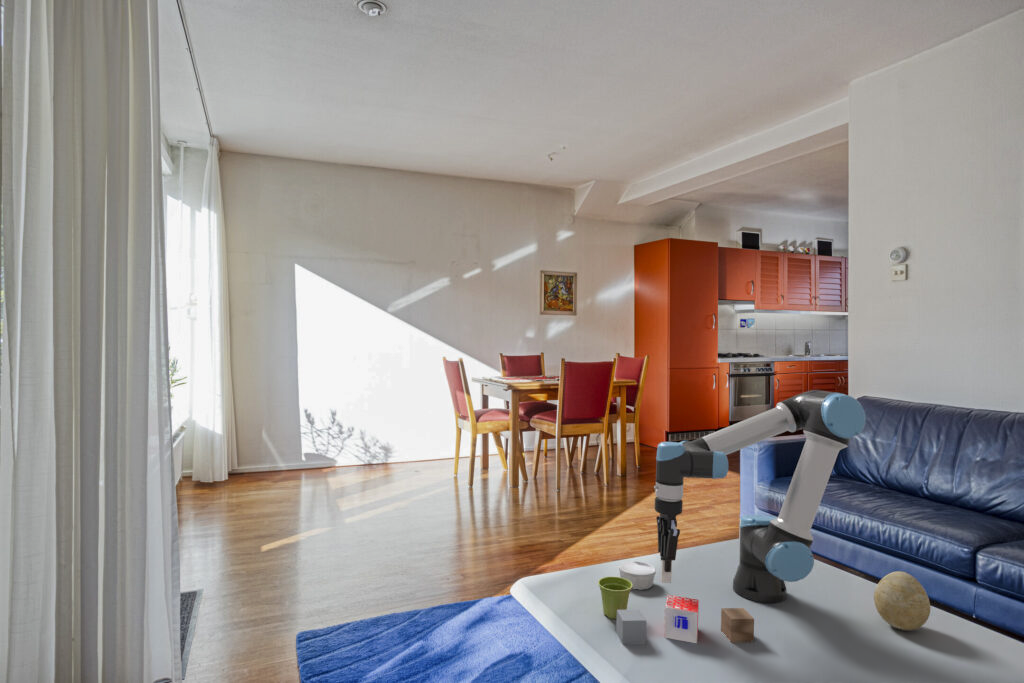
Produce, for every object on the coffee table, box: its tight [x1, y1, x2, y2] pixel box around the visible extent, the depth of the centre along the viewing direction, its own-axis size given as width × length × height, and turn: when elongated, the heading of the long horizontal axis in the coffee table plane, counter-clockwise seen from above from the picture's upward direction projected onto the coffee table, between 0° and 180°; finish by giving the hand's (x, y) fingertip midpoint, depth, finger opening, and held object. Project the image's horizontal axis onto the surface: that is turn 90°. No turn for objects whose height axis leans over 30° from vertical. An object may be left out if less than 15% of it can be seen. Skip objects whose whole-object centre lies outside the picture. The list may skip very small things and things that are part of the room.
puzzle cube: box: [664, 594, 700, 644], centre depth 156 cm, size 8×8×8 cm
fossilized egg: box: [873, 570, 931, 631], centre depth 161 cm, size 13×13×15 cm
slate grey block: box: [615, 609, 647, 645], centre depth 153 cm, size 6×6×6 cm
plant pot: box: [597, 576, 633, 620], centre depth 166 cm, size 9×9×9 cm
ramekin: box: [618, 560, 657, 591], centre depth 186 cm, size 11×11×5 cm
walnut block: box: [720, 607, 755, 643], centre depth 155 cm, size 6×6×6 cm
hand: (665, 581), depth 168 cm, fingers closed
